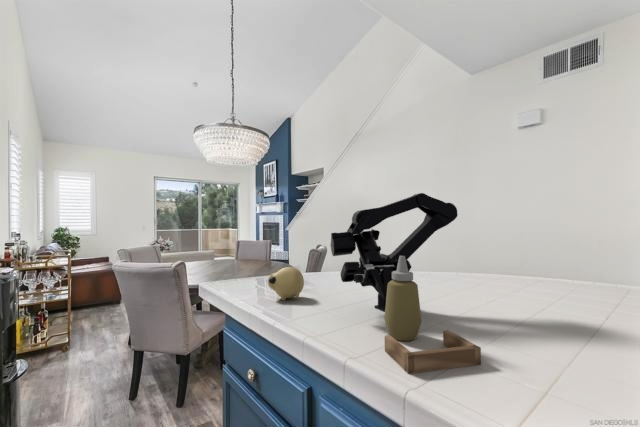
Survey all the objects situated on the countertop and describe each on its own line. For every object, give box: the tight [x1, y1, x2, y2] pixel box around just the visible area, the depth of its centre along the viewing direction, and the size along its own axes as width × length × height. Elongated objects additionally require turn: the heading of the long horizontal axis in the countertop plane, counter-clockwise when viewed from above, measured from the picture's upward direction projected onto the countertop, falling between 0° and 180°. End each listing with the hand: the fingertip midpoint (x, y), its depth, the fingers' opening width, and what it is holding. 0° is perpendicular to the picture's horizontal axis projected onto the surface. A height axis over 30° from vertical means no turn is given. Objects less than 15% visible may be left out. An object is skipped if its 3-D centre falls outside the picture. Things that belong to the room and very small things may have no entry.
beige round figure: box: [267, 266, 305, 301], centre depth 101 cm, size 10×12×11 cm
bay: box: [384, 329, 482, 374], centre depth 57 cm, size 9×14×3 cm, turn 103°
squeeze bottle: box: [383, 256, 423, 342], centre depth 68 cm, size 8×8×18 cm
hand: (385, 298), depth 76 cm, fingers closed
